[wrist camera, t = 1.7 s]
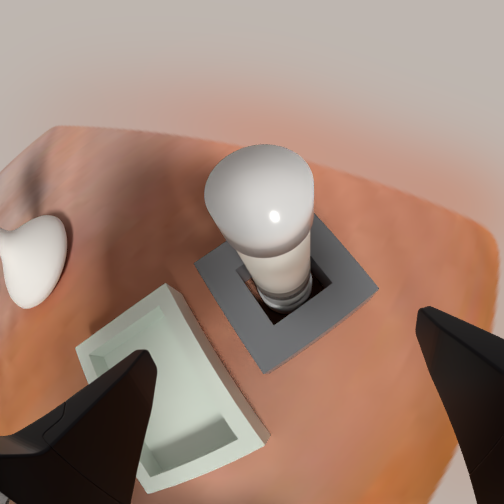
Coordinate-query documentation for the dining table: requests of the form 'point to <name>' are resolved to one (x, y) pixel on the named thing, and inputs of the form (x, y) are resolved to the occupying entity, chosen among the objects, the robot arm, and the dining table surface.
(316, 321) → the socket block
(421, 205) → the dining table surface
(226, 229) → the frosted bulb
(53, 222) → the flower in vase
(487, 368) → the robot arm
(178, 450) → the parts tray
